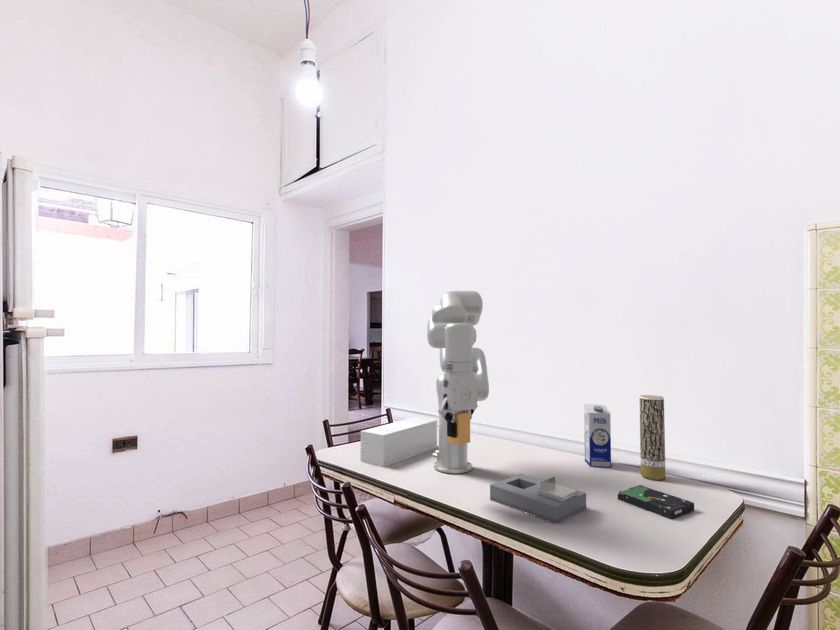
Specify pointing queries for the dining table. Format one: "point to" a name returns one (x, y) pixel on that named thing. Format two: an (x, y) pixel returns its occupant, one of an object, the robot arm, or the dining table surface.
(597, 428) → the milk carton
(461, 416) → the plug
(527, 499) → the socket block
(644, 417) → the paper tube
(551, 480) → the plate
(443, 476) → the dining table surface
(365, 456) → the stack of papers
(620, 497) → the disk drive
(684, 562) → the dining table surface
